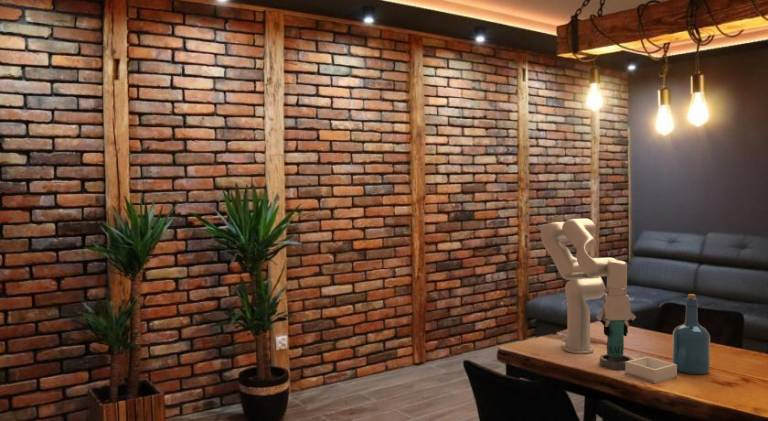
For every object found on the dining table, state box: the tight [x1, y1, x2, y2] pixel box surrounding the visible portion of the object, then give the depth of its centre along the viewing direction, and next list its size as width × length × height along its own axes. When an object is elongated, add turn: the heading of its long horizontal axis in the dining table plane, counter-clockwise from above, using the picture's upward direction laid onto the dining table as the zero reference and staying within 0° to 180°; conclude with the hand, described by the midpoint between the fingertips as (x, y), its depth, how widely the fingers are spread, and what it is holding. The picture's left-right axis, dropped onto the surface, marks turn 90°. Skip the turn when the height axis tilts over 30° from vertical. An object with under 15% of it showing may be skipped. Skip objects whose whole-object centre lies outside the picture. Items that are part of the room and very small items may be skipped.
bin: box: [624, 355, 678, 384], centre depth 246 cm, size 13×13×5 cm
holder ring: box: [598, 353, 634, 371], centre depth 260 cm, size 12×12×3 cm
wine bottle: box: [671, 293, 711, 376], centre depth 252 cm, size 14×13×30 cm
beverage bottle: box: [606, 321, 625, 357], centre depth 260 cm, size 6×7×20 cm
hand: (615, 335), depth 260 cm, fingers closed on beverage bottle, 6 cm apart
